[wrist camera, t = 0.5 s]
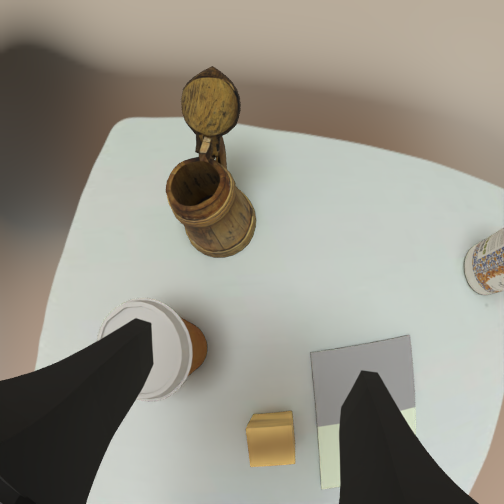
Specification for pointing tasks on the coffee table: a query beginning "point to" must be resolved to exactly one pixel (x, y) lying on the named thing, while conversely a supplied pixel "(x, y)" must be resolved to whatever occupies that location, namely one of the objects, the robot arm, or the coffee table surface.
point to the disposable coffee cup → (162, 344)
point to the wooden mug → (210, 171)
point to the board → (341, 382)
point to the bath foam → (486, 265)
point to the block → (271, 439)
